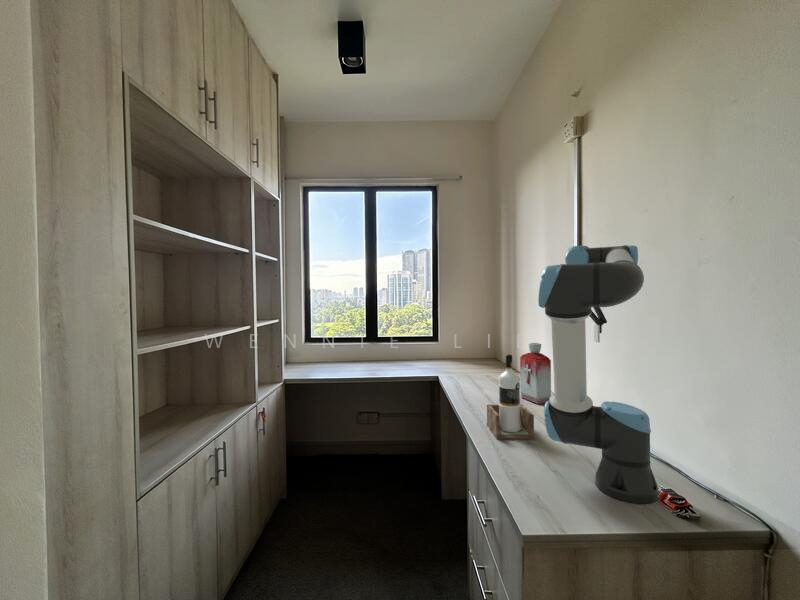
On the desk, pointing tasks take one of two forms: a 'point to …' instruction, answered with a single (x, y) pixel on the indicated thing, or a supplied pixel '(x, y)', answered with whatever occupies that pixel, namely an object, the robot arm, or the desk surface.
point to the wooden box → (524, 433)
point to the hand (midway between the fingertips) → (579, 342)
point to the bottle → (535, 375)
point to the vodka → (509, 399)
